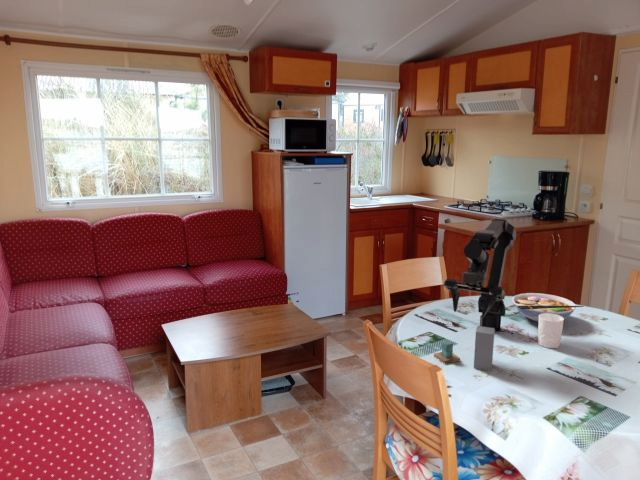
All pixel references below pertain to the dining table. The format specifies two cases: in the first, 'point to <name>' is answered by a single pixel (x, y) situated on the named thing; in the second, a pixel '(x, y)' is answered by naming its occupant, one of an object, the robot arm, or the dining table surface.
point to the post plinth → (446, 360)
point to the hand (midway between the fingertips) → (468, 314)
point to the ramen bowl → (543, 305)
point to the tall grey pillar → (484, 348)
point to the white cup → (550, 330)
